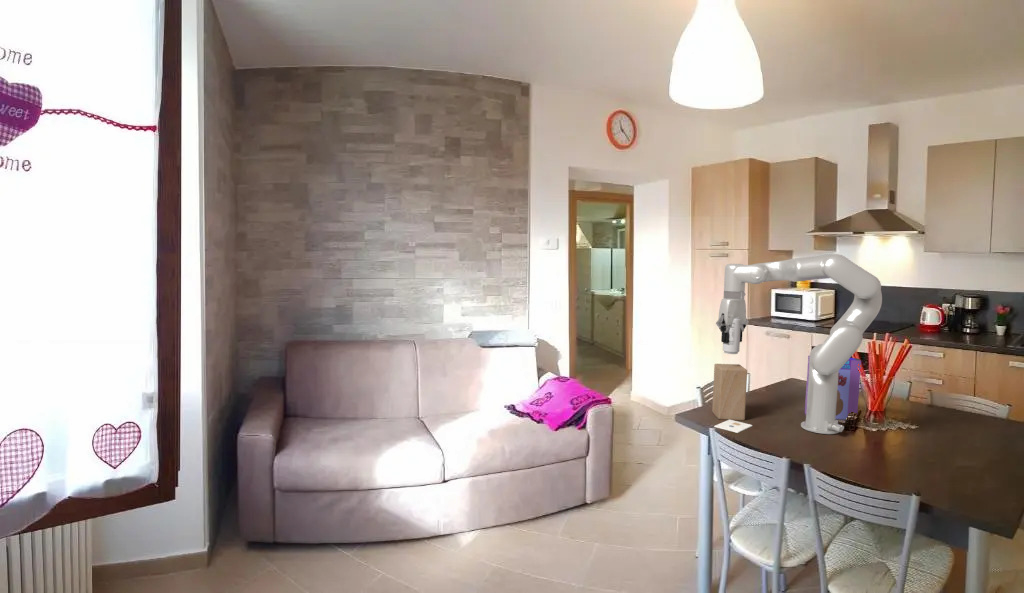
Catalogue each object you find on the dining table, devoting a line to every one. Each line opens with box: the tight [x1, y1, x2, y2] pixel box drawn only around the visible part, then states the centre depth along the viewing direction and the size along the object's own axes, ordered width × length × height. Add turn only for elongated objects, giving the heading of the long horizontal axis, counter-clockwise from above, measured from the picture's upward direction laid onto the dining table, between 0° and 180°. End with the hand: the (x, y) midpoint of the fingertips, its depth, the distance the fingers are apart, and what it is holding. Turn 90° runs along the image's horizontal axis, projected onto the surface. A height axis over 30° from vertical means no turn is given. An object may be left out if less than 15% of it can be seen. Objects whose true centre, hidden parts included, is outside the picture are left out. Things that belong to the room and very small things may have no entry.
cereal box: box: [804, 355, 862, 421], centre depth 225 cm, size 17×5×24 cm, turn 76°
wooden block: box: [711, 363, 748, 421], centre depth 224 cm, size 10×10×20 cm
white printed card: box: [713, 419, 753, 434], centre depth 213 cm, size 9×12×1 cm
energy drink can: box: [722, 317, 741, 355], centre depth 222 cm, size 6×6×15 cm
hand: (731, 341), depth 222 cm, fingers closed on energy drink can, 6 cm apart
